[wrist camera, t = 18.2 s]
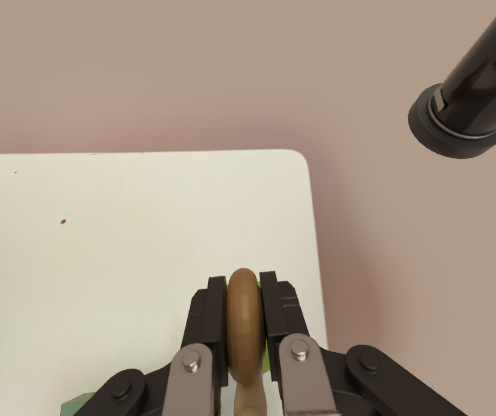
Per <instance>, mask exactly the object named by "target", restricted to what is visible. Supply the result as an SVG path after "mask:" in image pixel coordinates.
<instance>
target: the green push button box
mask: <svg viewBox="0 0 496 416" xmlns="http://www.w3.org/2000/svg"><path fill="white" fill-rule="evenodd" d="M94 394H95V393H86V394H83V395H81V396H78V397H76V398H74V399H72V400H70V401H68V402H65V403H63V404H62V408H61V414H60V416H73V415H74V414H75V413H76V412H77V411H78V410H79V409H80V408H81V407H82V406H83V405H84V404H85V403H86V402H87V401H88V400H89V399H90V398H91V397H92V396H93V395H94Z"/></svg>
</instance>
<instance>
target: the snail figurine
mask: <svg viewBox="0 0 496 416" xmlns="http://www.w3.org/2000/svg"><path fill="white" fill-rule="evenodd" d="M227 291H228V293H227V312H226V326H227V357H228V365H229V366H228V372H229V373H230V374H231V376H232V377H233V379H234V380H235V381H236V382H237V387H236V394H235V400H234V416H267V404H266V396H265V392H264V387H263V380H262V374H263V373H265V372H267V371H269V370H270V364H269V356H268V348H267V340H266V328H265V319H264V310H263V301H262V293H261V288H260V282H258V281H257V278H256V276H255V274H254V273H253V272H252V271H251V270H249V269H247V268H241V269H238V270H236V271H235V272H234V273H233V274H232V276H231V278H230V280H229V285H227Z"/></svg>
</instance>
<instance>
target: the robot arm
mask: <svg viewBox="0 0 496 416" xmlns="http://www.w3.org/2000/svg"><path fill="white" fill-rule="evenodd" d="M426 109H427V114H428V116H429V118H430V120H431V121H432V123H433V124H434V125H435V126H436V127H437V128H438V129H440V130H441V131H442V132H444V133H446V134H447V135H450V136H452V137H454V138H457V139H461V140H468V141H477V140H482V139H485V138H487V137H489V136H491V135H492V134H493V133H495V132H496V17H495V18H494V20H493V21H492V22H491V23H490V25H489V26H488V27H487V29H486V30H485V31H484V32H483V33H482V35H481V36H480V37H479V38H478V39H477V41H476V42H475V43H474V44H473V46H472V47H471V48H470V49H469V51H468V52H467V53H466V54H465V56H464V57H463V58H462V59H461V60H460V62H459V63H458V64H457V65H456V67H455V68H454V69H453V71H452V72H451V73H450V74H449V75H448V77H447V78H446V79H445V80H444V82H443V83H442V84H441V85H440V86H438V88H437V89H436V90H435V91H434V93H433V94H432V95H431V96H430V98H429V99H428V101H427V106H426ZM259 275H260V288H261V293H262V301H263V310H264V319H265V328H266V340H267V348H268V356H269V364H270V371H271V379H272V382H274V381H278V387H279V394H280V398H281V400H282V409H283V416H467V415H466V414H465V413H463V412H462V411H461V410H459V409H458V408H457V407H455V406H454V405H452V404H451V403H450V402H449V401H447V400H446V399H444V398H443V397H442V396H441V395H439V394H438V393H436V392H435V391H434V390H432V389H431V388H430V387H428V386H427V385H426V384H424V383H423V382H422V381H420V380H419V379H418V378H416V377H415V376H413V375H412V374H411V373H410V372H408V371H407V370H406V369H404V368H403V367H402V366H400V365H399V364H398V363H396V362H395V361H393V360H392V359H391V358H389V357H388V356H387V355H386V354H384V353H383V352H381V351H380V350H378V349H376V348H374V347H372V346H368V345H357V346H353V347H352V348H350V349H349V350H348V352H347V354H340V353H336V352H331V351H328V350H325V349H323V348H321V347H320V346H319V345H318V344H317V342H316V341H315V340H314V339H313V338H311V337H310V335H309V332H308V329H307V326H306V323H305V320H304V317H303V313H302V310H301V307H300V305H299V301H298V298H297V295H296V292H295V288H294V287H293V286H292V285H291V284H290V283H289V282H288V281H281V282H277V278H276V274H275V271H268V272H259ZM227 293H228V291H227V284H226V278H225V276H217V277H209V281H208V287H207V289H200V290H198V291H197V292H196V293H195V295H194V296H193V297H192V300H191V305H190V309H189V313H188V318H187V322H186V327H185V331H184V336H183V340H182V344H181V348H180V350H179V351H178V352H177V353H176V355H175V356H174V358H173V360H172V361H171V362H170V363H169V364H168V365H166V366H165V367H163V368H161V369H159V370H156V371H154V372H151V373H149V374H146V375H144V374H143V373H142V372H141V371H140V370H137V369H126V370H123V371H121V372H119V373H117V374H115V375H114V376H113V377H111V378H110V379H109V380H108V381H107V382H106V383H105V384H104V385H103V386H102V387H101V388H100V389H99V390H98V391H97V392H96V393H95V394H94V395H93V396H92V397H91V398H90V399H89V400H88V401H87V402H86V403H85V404H84V405H83V406H82V407H81V408H80V409H79V410H78V411H77V412H76V413H75V414H74V415H73V416H222V404H221V387H225V386H228V366H229V365H228V357H227V326H226V312H227Z"/></svg>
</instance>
